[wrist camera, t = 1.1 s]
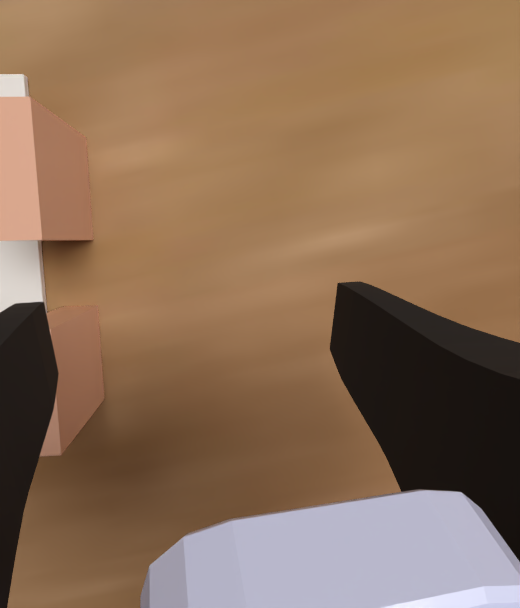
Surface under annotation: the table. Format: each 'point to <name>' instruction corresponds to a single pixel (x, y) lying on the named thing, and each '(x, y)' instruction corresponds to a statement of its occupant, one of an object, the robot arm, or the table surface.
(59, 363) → the tile
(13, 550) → the robot arm
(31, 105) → the tile
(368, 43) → the table surface
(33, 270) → the felt mat
